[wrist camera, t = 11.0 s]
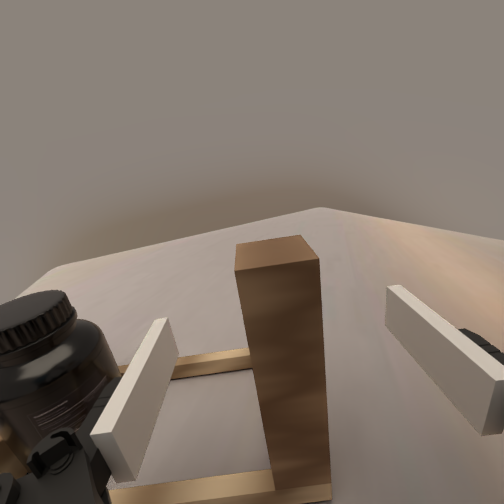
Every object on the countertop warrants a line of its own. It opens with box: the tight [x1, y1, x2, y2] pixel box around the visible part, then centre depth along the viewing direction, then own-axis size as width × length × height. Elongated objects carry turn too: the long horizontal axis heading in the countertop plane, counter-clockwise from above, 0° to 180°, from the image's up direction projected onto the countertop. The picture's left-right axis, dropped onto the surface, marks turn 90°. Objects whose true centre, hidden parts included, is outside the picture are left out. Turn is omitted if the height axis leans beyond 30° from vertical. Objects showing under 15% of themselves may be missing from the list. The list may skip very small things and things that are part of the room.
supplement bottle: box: [0, 290, 122, 474], centre depth 17 cm, size 7×7×12 cm
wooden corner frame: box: [0, 235, 332, 504], centre depth 16 cm, size 22×11×14 cm, turn 92°
